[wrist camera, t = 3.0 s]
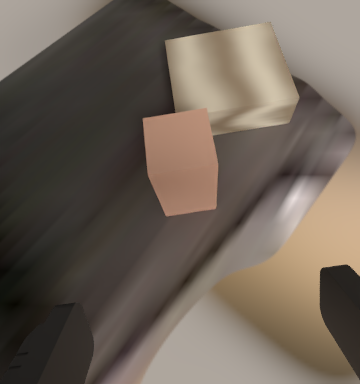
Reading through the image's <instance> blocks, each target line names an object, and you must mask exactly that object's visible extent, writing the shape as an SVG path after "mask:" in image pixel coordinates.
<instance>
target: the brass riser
mask: <svg viewBox="0 0 360 384" xmlns="http://www.w3.org/2000/svg"><path fill="white" fill-rule="evenodd" d="M165 45H166V52H167V59H168V65H169V72H170V79H171V85H172V92H173V99H174V106H175V112H176V113H179V112H185V111H191V110H197V109H203V108H207V112H208V117H209V122H210V126H211V131H212V136H213V135H219V134H225V133H231V132H237V131H243V130H249V129H256V128H262V127H268V126H274V125H280V124H286V123H289V122H290V120H291V117H292V115H293V112H294V109H295V107H296V104H297V102H298V99H299V95H298V92H297V90H296V87H295V85H294V82H293V79H292V77H291V74H290V72H289V69H288V66H287V64H286V61H285V59H284V56H283V53H282V51H281V48H280V46H279V43H278V40H277V38H276V35H275V32H274V30H273V27H272V25H271V22H267V23H261V24H255V25H250V26H245V27H238V28H233V29H227V30H222V31H216V32H210V33H205V34H199V35H193V36H188V37H182V38H177V39H171V40H165Z"/></svg>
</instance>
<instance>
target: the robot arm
mask: <svg viewBox="0 0 360 384" xmlns="http://www.w3.org/2000/svg"><path fill="white" fill-rule="evenodd" d="M320 310H321V314H322V318H323V320H324V322H325V325H326V326H327V328H328V330H329V331H330V333H331V334H332V336H333V338H334V339H335V341H336V343H337V344H338V346H339V347H340V349H341V350H342V352H343V354H344V355H345V357H346V359H347V360H348V362H349V363H350V365H351V367H352V368H353V370H354V371H355V373H356V375H357V376H358V378H359V379H360V276H359V275H357V273H356V272H355V271H354V270H353V269H352V268H351V267H350V266H348V265H339V266H332V267H325V268H322V269H321V271H320ZM93 351H94V340H93V335H92V332H91V330H90V327H89V324H88V321H87V319H86V316H85V313H84V310H83V307H82V305H81V304H80V303H78V302H77V303H70V304H63V305H57V306H55V307H54V308H53V309H52V311H51V313H50V314H49V316H48V318H47V320H46V322H45V323H44V324H39V325H38V326H37V327H36V328H35V329H34V330H33V331H32V332H31V333H30V334H29V335H28V336H27V337H26V338H25V340H24V342H23V343H22V345H21V347H20V348H19V350H18V352H17V355H16V357H14V359H13V360H12V362H11V364H10V365H9V369H8V370H7V371H6V372H5V374H4V375H3V377H2V379H1V380H0V384H84V383H85V379H86V376H87V373H88V370H89V366H90V363H91V360H92V357H93Z"/></svg>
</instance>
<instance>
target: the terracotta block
mask: <svg viewBox="0 0 360 384" xmlns="http://www.w3.org/2000/svg"><path fill="white" fill-rule="evenodd" d="M143 127H144V138H145V149H146V161H147V172H148V177H149V179H150V181H151V184H152V186H153V188H154V190H155V193H156V195H157V197H158V199H159V202H160V204H161V206H162V208H163V211H164V213H165V215H166V216H172V215H179V214H185V213H192V212H198V211H205V210H212V209H216V204H217V182H218V160H217V155H216V150H215V146H214V141H213V136H212V131H211V126H210V122H209V117H208V112H207V108H203V109H197V110H191V111H185V112H179V113H173V114H167V115H161V116H155V117H149V118H143Z"/></svg>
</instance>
